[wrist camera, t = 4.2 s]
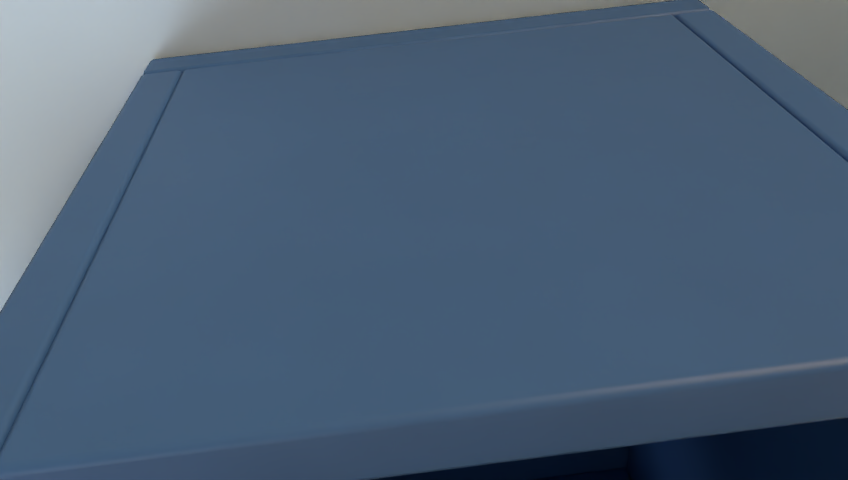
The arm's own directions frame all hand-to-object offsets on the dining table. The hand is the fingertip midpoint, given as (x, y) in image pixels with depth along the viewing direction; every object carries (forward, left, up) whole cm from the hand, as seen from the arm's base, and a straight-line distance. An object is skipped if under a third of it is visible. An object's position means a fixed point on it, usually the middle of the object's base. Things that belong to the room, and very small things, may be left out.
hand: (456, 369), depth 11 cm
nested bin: (0, 0, -1) cm, 1 cm away
